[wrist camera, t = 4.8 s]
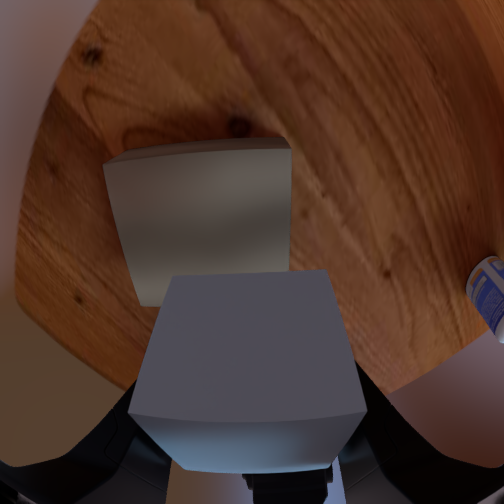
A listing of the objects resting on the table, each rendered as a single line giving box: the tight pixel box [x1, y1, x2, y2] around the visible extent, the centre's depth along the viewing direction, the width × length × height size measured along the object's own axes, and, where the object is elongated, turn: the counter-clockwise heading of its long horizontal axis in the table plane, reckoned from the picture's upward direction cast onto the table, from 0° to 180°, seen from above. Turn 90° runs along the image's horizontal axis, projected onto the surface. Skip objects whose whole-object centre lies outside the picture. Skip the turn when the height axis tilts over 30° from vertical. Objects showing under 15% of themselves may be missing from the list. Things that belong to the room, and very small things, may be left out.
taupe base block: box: [102, 137, 292, 307], centre depth 18 cm, size 10×10×4 cm
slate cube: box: [128, 269, 367, 473], centre depth 8 cm, size 5×5×5 cm
